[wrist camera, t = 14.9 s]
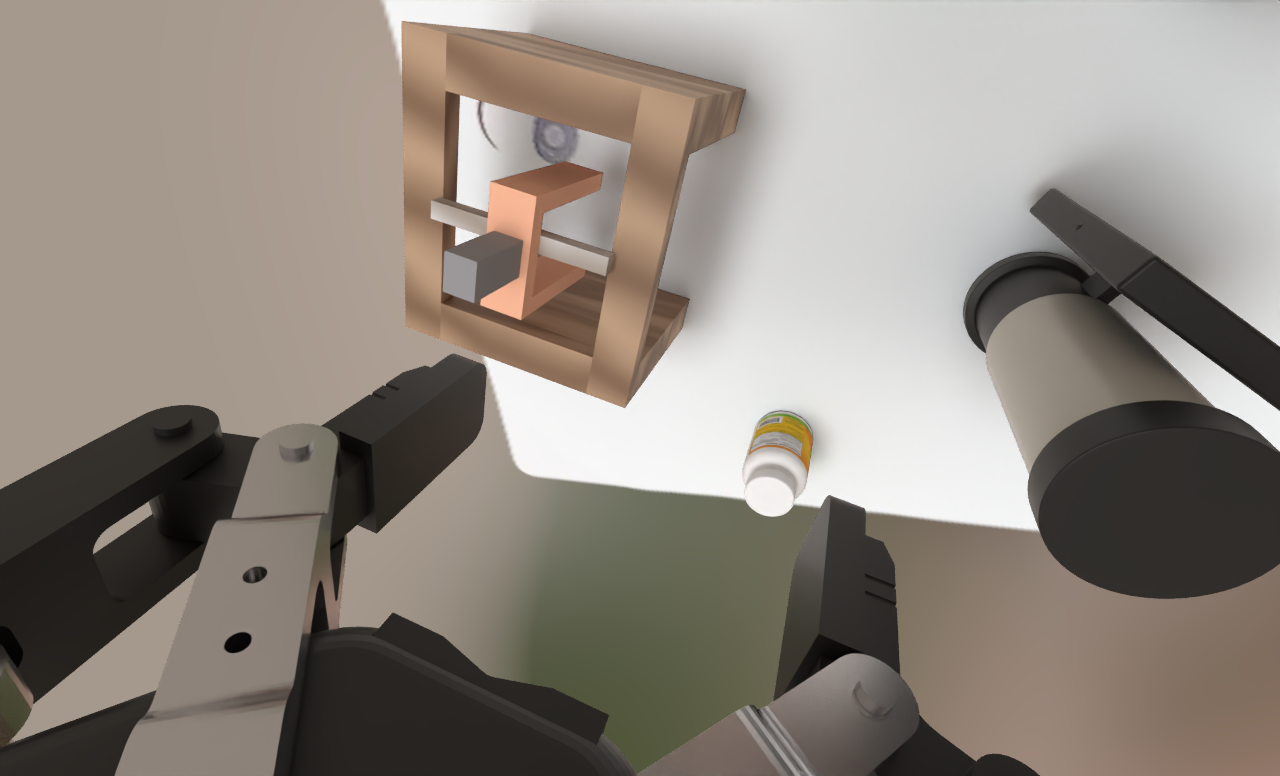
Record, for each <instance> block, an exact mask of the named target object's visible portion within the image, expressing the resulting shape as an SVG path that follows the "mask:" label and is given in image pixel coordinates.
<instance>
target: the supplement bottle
mask: <svg viewBox="0 0 1280 776" xmlns="http://www.w3.org/2000/svg"><path fill="white" fill-rule="evenodd" d="M812 444H813V435H812V431H811V429H810V427H809V425H808V424H807V423H806V422H805V421H804V420H803V419H802V418H801V417H799V416H797V415H795V414H793V413H789V412H773V413H770V414H768V415H766V416H764V417H763V418H762V419H761V420H760V421H759V422H758V423H757V425H756V427H755V430H754V433H753V436H752V440H751V443H750V446H749V449H748V453H747V456H746V459H745V462H744V466H743V471H742V475H743V480H744V483H745V485H746V487H745V492H744V494H745V499H746V501H747V503H748V505H749V506H750V507H751V508H752V509H753V510H755V511H756V512H758V513H759V514H762V515H765V516H780V515H783V514H785V513H787V512H788V511H789V510H790V509H791V508H792V506H793V504H794V500H795V499H796V498H797V497H798V496H799V495H800V494H801V493H802V492H803V490H804V488H805V486H806V482H807V477H808V471H809V464H810V458H811V451H812Z"/></svg>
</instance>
